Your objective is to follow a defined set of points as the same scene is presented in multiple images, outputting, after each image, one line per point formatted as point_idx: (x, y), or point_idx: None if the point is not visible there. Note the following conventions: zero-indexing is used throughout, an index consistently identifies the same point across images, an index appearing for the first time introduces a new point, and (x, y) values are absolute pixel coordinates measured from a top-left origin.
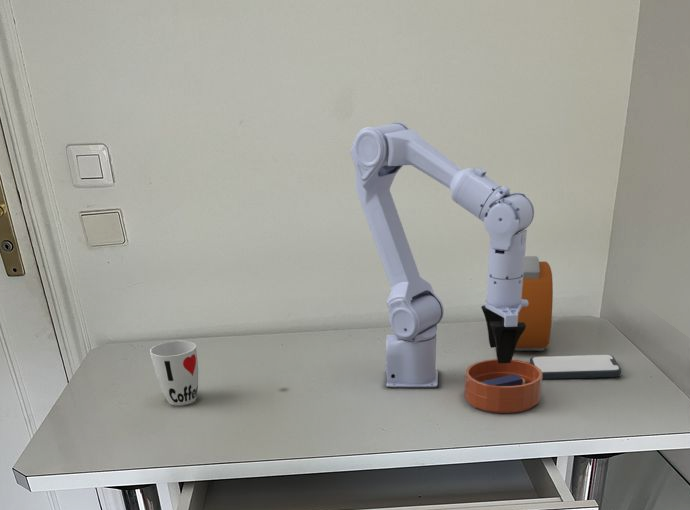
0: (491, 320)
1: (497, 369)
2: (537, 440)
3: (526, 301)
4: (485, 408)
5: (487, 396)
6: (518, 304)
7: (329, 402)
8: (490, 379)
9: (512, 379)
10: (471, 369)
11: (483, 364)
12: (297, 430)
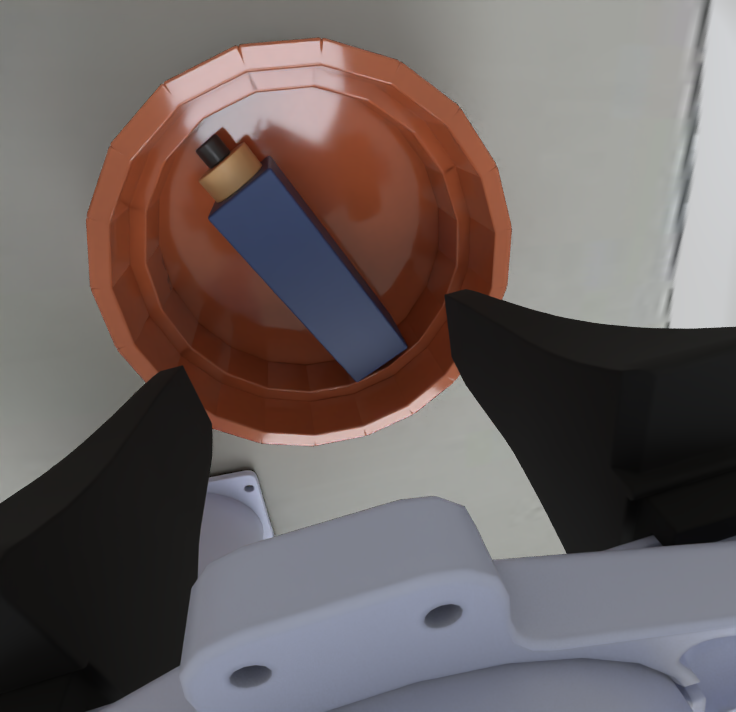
0: (179, 591)
1: (143, 310)
2: (683, 76)
3: (408, 617)
4: None
5: None
6: (622, 670)
7: None
8: (310, 328)
9: (292, 226)
10: (270, 424)
11: None
12: None
